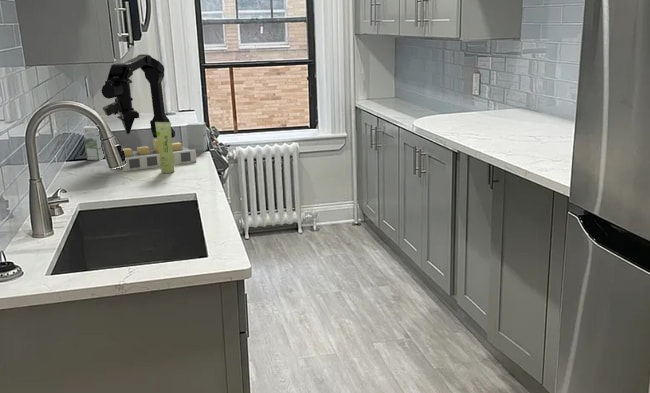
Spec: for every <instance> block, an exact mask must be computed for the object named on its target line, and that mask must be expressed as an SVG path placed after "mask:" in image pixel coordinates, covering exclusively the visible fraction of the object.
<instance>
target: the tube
mask: <svg viewBox="0 0 650 393" xmlns="http://www.w3.org/2000/svg"><path fill="white" fill-rule="evenodd" d="M155 126H156V132H157V138H156V139H157V140H158V147H159V155H160V164H161V166H160V170H161V173H162V174H163V173H164V174H171V173H174V172H175V165H174V161H173V150H172V143H173V138H172V136H171V127H172V122H171V121H170V122H155Z"/></svg>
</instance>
